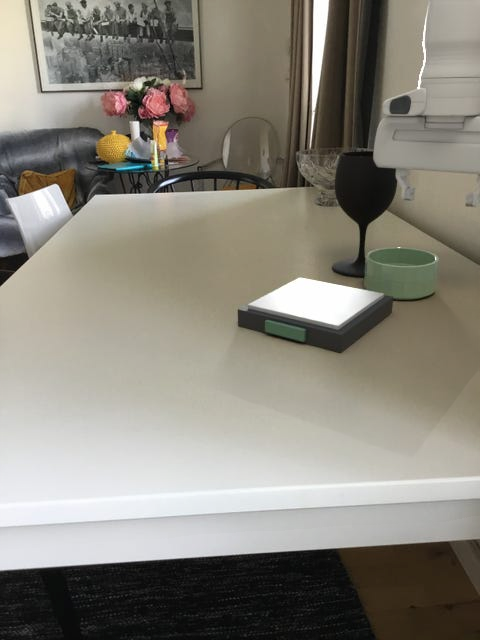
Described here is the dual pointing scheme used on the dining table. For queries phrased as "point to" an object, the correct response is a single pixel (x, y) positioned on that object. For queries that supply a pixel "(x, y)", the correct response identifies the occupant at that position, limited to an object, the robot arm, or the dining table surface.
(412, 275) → the bowl
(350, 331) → the scale
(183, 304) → the dining table surface
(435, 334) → the dining table surface
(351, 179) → the wine glass
